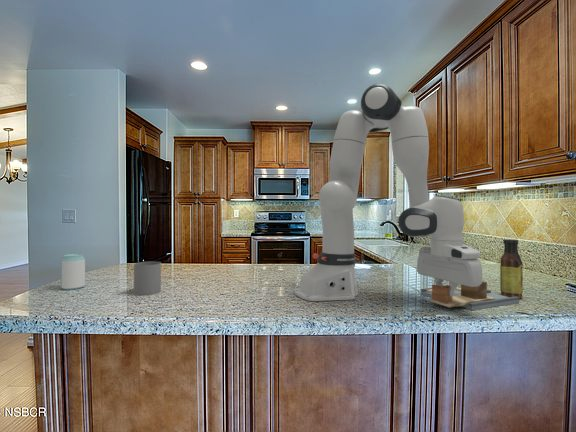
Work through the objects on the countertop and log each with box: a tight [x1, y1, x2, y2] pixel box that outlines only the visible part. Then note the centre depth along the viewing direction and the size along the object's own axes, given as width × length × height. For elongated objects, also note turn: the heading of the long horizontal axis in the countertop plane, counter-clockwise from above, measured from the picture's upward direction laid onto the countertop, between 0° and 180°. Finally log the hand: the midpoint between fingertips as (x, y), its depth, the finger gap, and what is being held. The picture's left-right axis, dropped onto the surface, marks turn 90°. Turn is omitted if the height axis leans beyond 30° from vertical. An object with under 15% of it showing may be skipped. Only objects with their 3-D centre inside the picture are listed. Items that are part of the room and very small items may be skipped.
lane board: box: [420, 287, 520, 311], centre depth 101 cm, size 22×19×2 cm
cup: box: [133, 260, 162, 297], centre depth 104 cm, size 8×8×10 cm
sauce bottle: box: [499, 238, 524, 299], centre depth 104 cm, size 7×6×20 cm
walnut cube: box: [461, 280, 488, 300], centre depth 96 cm, size 5×5×5 cm
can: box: [60, 253, 86, 291], centre depth 108 cm, size 7×7×12 cm
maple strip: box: [429, 284, 495, 308], centre depth 94 cm, size 20×7×5 cm, turn 112°
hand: (445, 294), depth 91 cm, fingers closed
